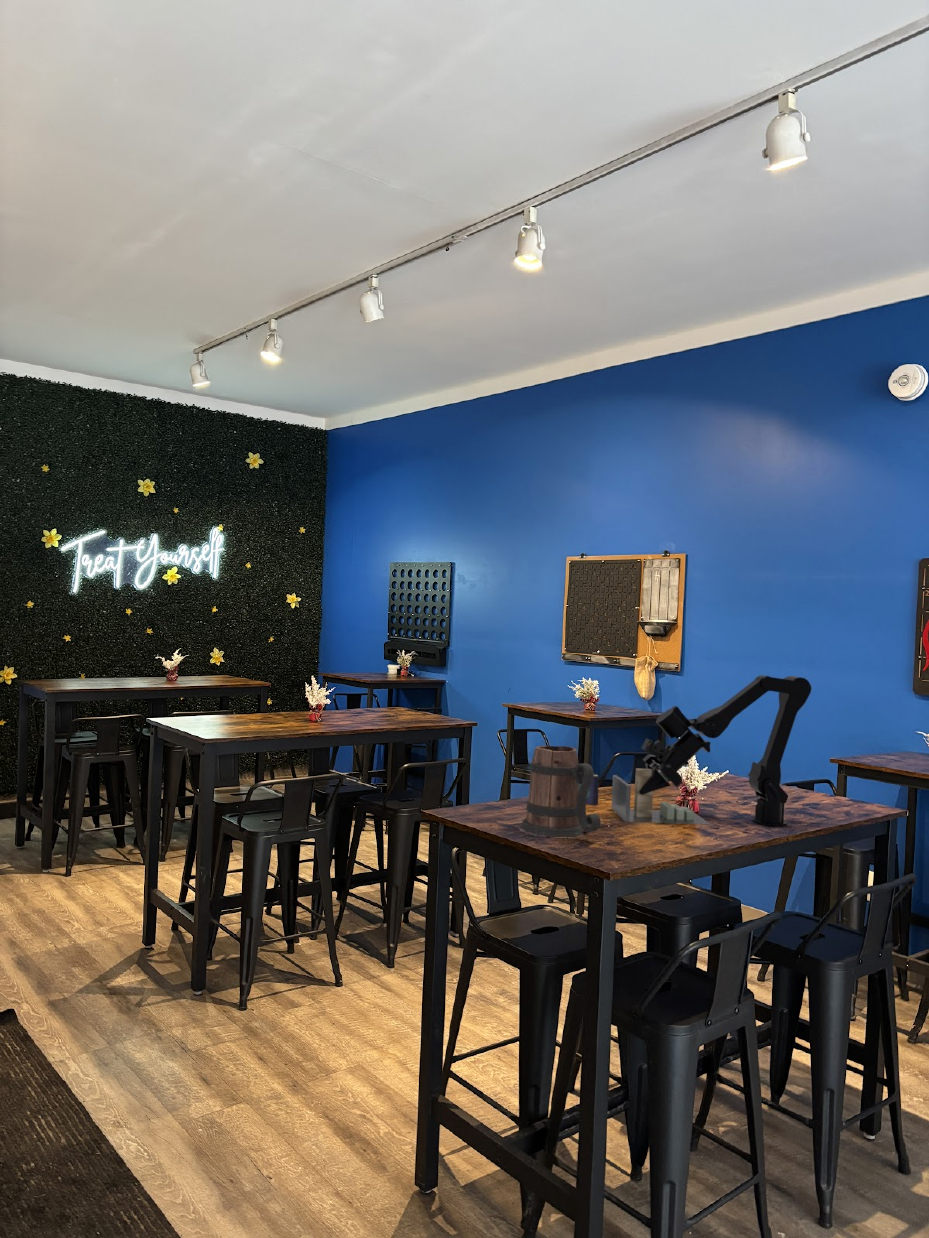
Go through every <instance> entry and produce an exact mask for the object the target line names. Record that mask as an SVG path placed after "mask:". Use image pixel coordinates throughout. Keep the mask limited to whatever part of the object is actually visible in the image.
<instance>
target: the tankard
mask: <svg viewBox="0 0 929 1238" xmlns="http://www.w3.org/2000/svg"><path fill="white" fill-rule="evenodd" d="M533 751H534V752H533V755H532V760H531V762H530V766H529V770H530V779H529V786H528V787H529V788H528V800H527V801H526V818H523V820H522V821H521V824H519V826H520V828H522V829H523V830H525V831H526V832H531V833H534V834H537V835H547V836H555V837H567V838H568V837H577V836H580V835H585V836H587V835H586V833H587V834H588V833H591V832H596V831H598V830H599V828H600V827H601V823H602V821H601V817H600V816H599V815H598V814H597V813H589V814H587V807H586V805H587V804H586V796H587V792H588V789H589V787H590V785H591V783H592V780H593V773H594V769H593V767H592V765H591V764H589V763H579V756H578V750H577V748H575V747H572V746H564V745H562V746H553V745H539V746H536V747H534V750H533ZM583 769H584V770H583ZM584 772H585V776H584ZM583 776H584V780H583ZM581 783H582V785H581V787H580V789H579V784H581Z"/></svg>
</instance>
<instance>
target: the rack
mask: <svg viewBox="0 0 929 1238" xmlns="http://www.w3.org/2000/svg"><path fill="white" fill-rule="evenodd" d="M631 787H632V785H630V784H629V783H628V782H626V781H625V780H624V779H622V778H621V777H619V776H618V775H617V774H613V775H612V790H611V791H612V792H611V810H612V811H613V812H614V813H616V815H617V816H618V817H620V819H622V820H623V821H624V822H625V823H645V824H646V823H647V824H649V823H650V824H676V825H679V824H681V825H683V824H685V825H712V824H711V823H710V822H708V821H707V820H705V819H704V818H702V817H701V816H700V815H699V814H697V813H695V812H694V820H686V819H685V818H684V820H677V819H676V818H674V819H666V818H665V817H663V816H662V815H661V814H660V809H652V817H636V816H635V815H634V808H632V809H631V790H632V788H631Z"/></svg>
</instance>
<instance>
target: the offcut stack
mask: <svg viewBox="0 0 929 1238" xmlns="http://www.w3.org/2000/svg"><path fill="white" fill-rule="evenodd" d="M659 810H660V814H661V815H662V816H663V817H665V818H666V819H674V818H676V819H677V820H684V818H685V819H686V820H694V813H695V811H693V810H692V809H690V808H688V807H687V806H679V805H678V804H670V803H669V802H666V801H665V802H664V801H660V802H659Z"/></svg>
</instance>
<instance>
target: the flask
mask: <svg viewBox="0 0 929 1238" xmlns="http://www.w3.org/2000/svg"><path fill="white" fill-rule="evenodd" d="M583 770H584V769H583ZM584 776H585V772H584ZM584 776H583V780H584ZM599 780H600V778H599V775H598V774H595V773H594V772H593V780H592V783H591V785H590V787H589V789H588V792H587V796H586V805H588V806H598V804H599V787H600V786H599ZM581 785H582V783H581V784H579V789H580V787H581Z"/></svg>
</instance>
